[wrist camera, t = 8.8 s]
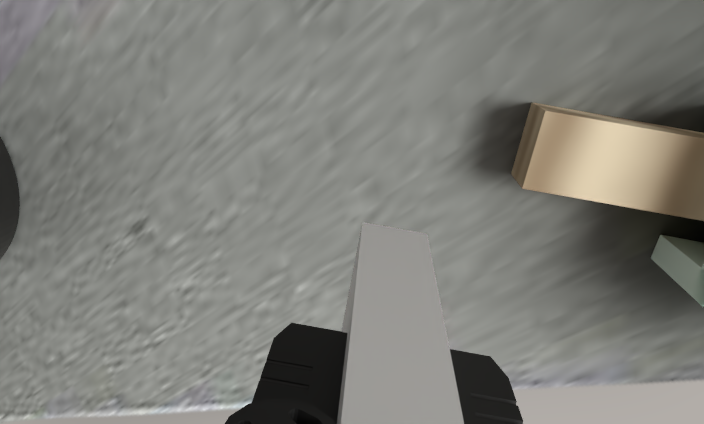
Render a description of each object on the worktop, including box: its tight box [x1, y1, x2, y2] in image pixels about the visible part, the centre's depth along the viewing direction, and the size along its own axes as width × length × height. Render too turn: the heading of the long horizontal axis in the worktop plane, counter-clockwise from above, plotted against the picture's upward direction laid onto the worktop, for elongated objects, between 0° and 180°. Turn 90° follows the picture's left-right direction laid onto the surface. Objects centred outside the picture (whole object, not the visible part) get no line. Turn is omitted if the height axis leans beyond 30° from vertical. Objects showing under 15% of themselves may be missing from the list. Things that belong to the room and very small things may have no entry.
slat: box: [511, 103, 704, 221], centre depth 27 cm, size 14×4×3 cm, turn 81°
